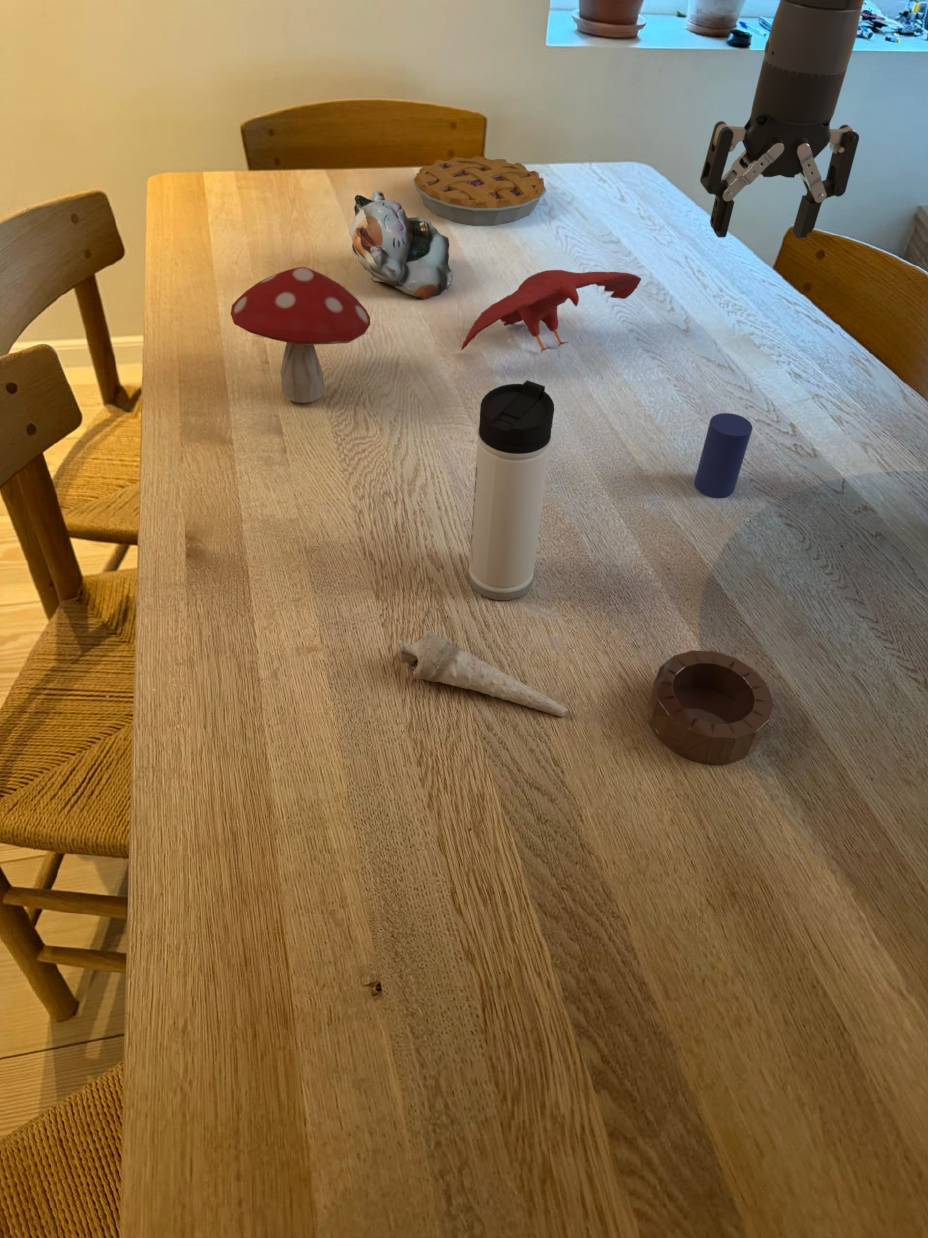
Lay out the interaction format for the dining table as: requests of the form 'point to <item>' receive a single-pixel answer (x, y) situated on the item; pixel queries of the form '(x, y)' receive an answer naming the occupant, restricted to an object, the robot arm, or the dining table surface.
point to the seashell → (469, 673)
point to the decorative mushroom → (301, 323)
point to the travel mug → (509, 488)
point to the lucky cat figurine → (400, 247)
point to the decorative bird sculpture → (549, 299)
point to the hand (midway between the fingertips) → (759, 235)
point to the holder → (709, 707)
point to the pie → (479, 190)
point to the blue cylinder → (722, 455)
